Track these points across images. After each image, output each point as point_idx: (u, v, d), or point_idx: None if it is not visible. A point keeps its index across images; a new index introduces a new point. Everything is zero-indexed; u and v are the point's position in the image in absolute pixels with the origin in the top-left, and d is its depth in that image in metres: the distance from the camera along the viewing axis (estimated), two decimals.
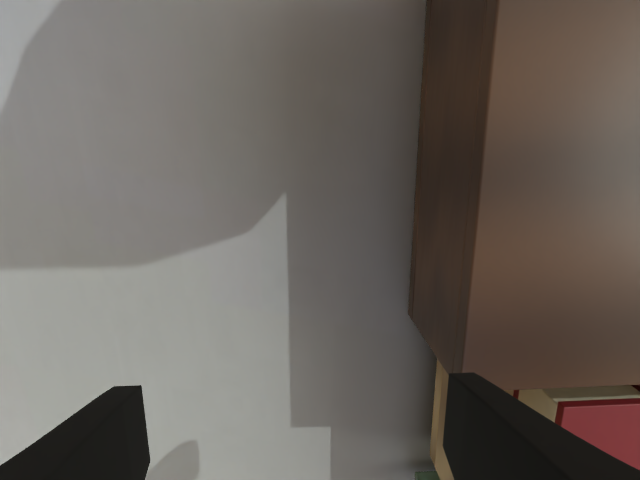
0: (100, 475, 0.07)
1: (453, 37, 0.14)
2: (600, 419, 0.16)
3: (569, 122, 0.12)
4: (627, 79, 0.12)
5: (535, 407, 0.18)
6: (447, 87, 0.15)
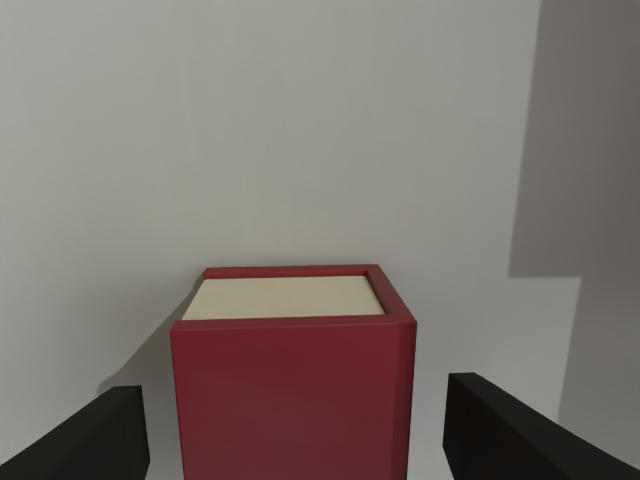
0: (100, 475, 0.07)
1: None
2: (262, 358, 0.07)
3: None
4: None
5: None
6: None
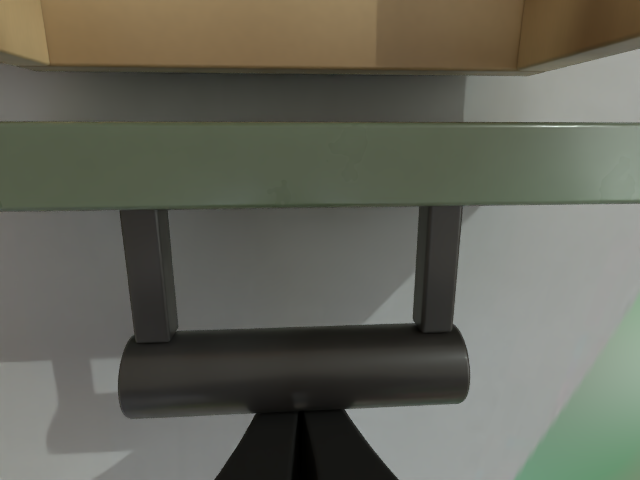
0: (296, 465, 0.08)
1: None
2: None
3: None
4: None
5: None
6: None
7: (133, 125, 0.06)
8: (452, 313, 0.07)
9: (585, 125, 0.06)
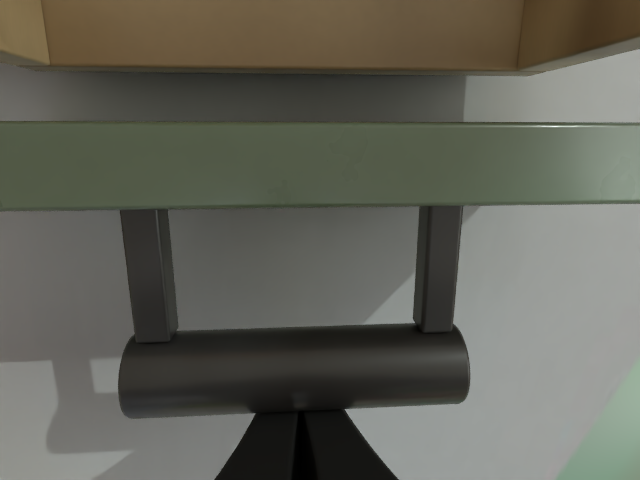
0: (296, 465, 0.08)
1: None
2: None
3: None
4: None
5: None
6: None
7: (133, 125, 0.06)
8: (452, 313, 0.07)
9: (585, 125, 0.06)
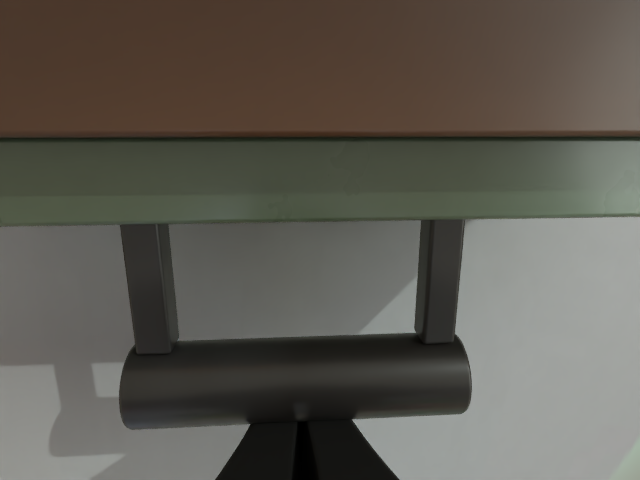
0: (297, 464, 0.08)
1: None
2: None
3: None
4: None
5: None
6: None
7: (133, 140, 0.05)
8: (454, 324, 0.07)
9: (589, 139, 0.06)
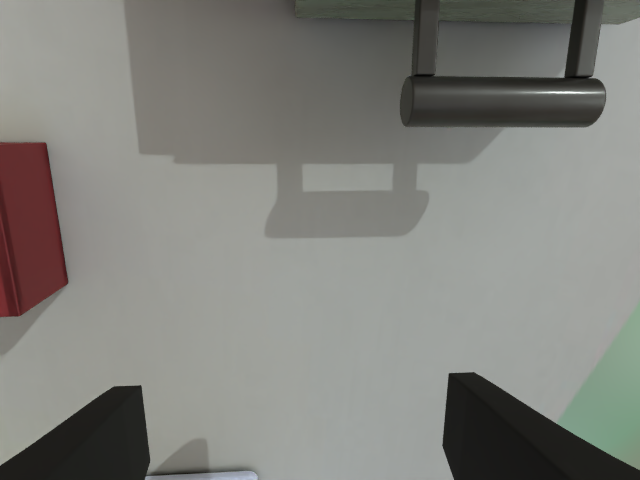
0: (100, 475, 0.07)
1: None
2: None
3: None
4: None
5: None
6: None
7: None
8: (594, 64, 0.13)
9: None
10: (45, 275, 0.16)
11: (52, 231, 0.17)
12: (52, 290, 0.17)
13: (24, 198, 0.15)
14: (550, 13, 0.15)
